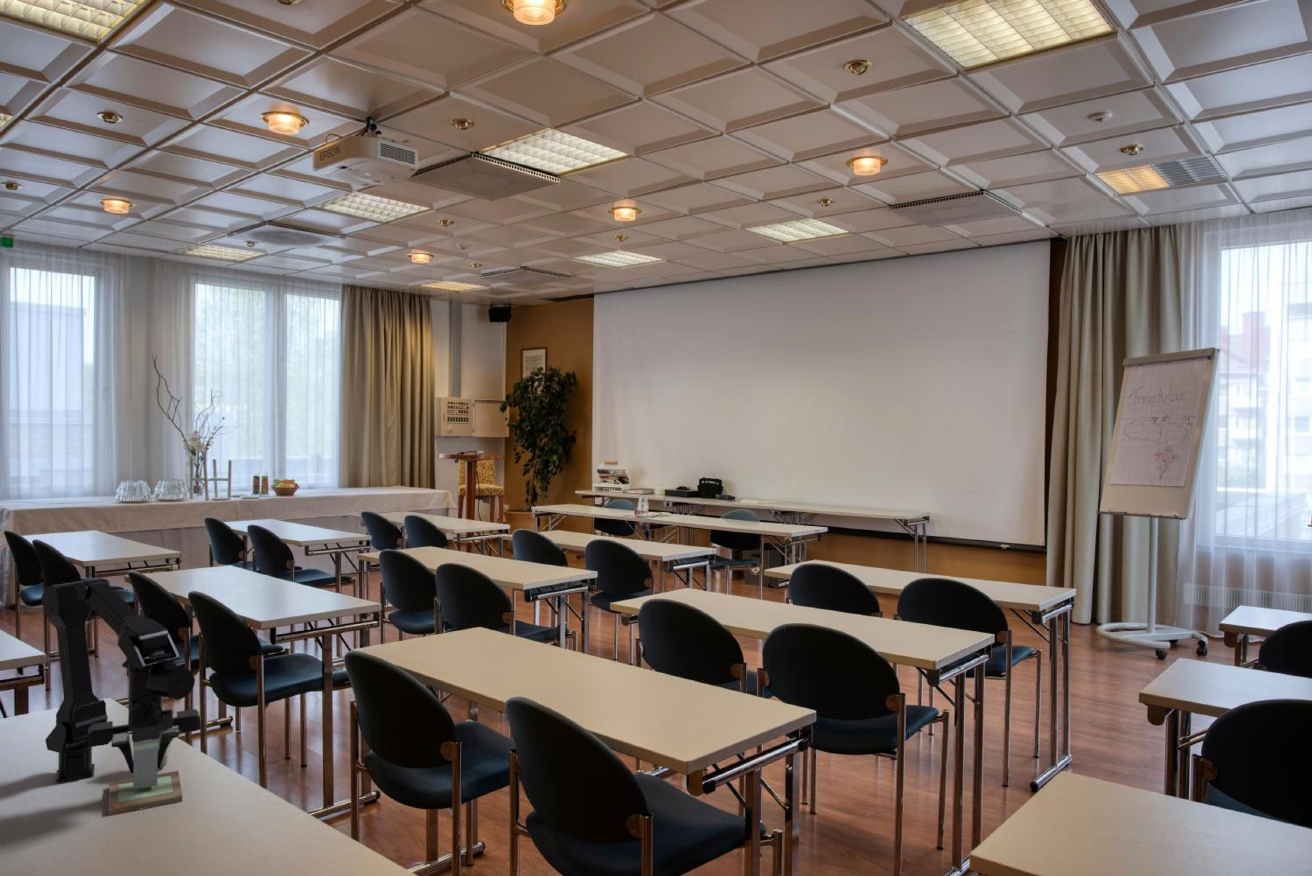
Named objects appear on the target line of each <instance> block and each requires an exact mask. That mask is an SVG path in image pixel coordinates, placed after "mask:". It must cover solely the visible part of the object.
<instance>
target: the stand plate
mask: <svg viewBox="0 0 1312 876" xmlns="http://www.w3.org/2000/svg"><path fill="white" fill-rule="evenodd" d="M108 784H109V785H108V787H109V788H108V816H113V815H118V814H119V815H120V814H124V813H125V814H126V813H128V811H130V812H132V811H131V810H135V811H138V810H137V809H140V808H145V807H146V808H145V809H148V808H147V807H150V808H154V807H153V806H155V807H159V805H161V806H165V804H166V805H169V803H171V804H174V803H175V804H176V803H180V802H183V791H182V786H181V785H182V783H181V778H180V774H179V770H175V771H169V772H163V773H157V785H156V786H150V787H145V788H139V789H134V790H133V778H130V779H123V780H118V781H112V782H109V783H108ZM140 810H141V809H140Z"/></svg>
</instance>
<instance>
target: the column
mask: <svg viewBox="0 0 1312 876" xmlns="http://www.w3.org/2000/svg"><path fill="white" fill-rule="evenodd" d="M132 757H133V774H132V779H133V790H134V789H139V788H145V787H150V786H156V785H157V774H158V769H157V766H158V739H155V740H152V739H150V740H143V741H141V742H133V741H132Z"/></svg>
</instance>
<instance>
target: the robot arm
mask: <svg viewBox="0 0 1312 876" xmlns="http://www.w3.org/2000/svg"><path fill="white" fill-rule="evenodd" d="M40 601H41V605H42V607H43V611H44V615H45V618H46V619H47V621H49V622H50V623H51V625H53V627H54V628H55V629H56V636H57V637H56V639H57V646H58V647H57V648H58V655H59V657H58V658H59V664H60V673H61V682H62V683H61V684H62V693H63V700H62V702H61V704H60V705H59V708H58V710H57V712H56V714H55V726H54V728H53V729H52V730H51V731H50V733H49V734H48V735H47V737H46V738H45V744H46V750H48V751H50V752H54V753H58V767H57V768H58V769H56V773H55V778H54V779H55V780H54V783H61V782H68V781H73V780H79V779H85V778H90V777H93V776H94V775H95V763H93V758H92V757H93V747H99V746H106V745H109V744H110V743H111V744H110V745H111V746H110V747H111V748H118V749H119V750H120V752H121V753H122V755H123V757H124V759H125V762H126V765H127V767H128V769H129V772H130V774H132V775H133V749H132V743H133V742H141V741H143V740H150V739H152V740H155V739H158V738H160V739H159V747H158V766H157V770H160V769H159V768H160V766H161V763H162V760H163V757H164V755H165V752H166V749H167V747H168V745H169V743H170V742H171V740H172V739H173V738H174V739H175V738H178V737H179V736H180V732H181V733H182V734H183V733H189V732H195V731H200V730H201V715H200V711H199V710H197V709H194V708H193V709H185V710H177V711H176V716H175V717H174V715H173V714H174V713H173V709H165V710H163V697H164V698H168V699H173V700H181V699H184V698H186V697H187V696H188V695H189V694H190V693H191V692H192V690H193V689H194V686H195V684H196V683H195V681H196V678H195V676H194V673H193V672H192V671H191V670H190V669H189V668H186V662H184V661H179V660H180V659H181V657H180V654H179V650H178V647H177V646H176V645H175V643H174V641H173V639H172V637H171V634H170V633H169V630H168V629H167V627H165V626H164V625H162V623H159V622H158V621H156V620H155V619H152V618H148V617H144V616H141V615H140V614H139V613H138V612H137V611H136V610H135V609H134V608H133V607H132V606H131V605H130V604H129V603H128V602H127V601H126V600H125V599H124V598H122V597H121V595H120V594H118V593H117V592H116V590H114V589H113V588H112V586H111V584H110V581H109V580H108V579H107V578H103V577H102V578H101V577H100V578H99V577H98V578H93V579H86V580H85V579H84V580H79V581H78V580H77V581H73V582H66V583H60V584H59V583H58V584H52V585H49V586H48V587H47V588H46V590H45V591H44V592H43V593H42V594H41V600H40ZM92 611H94V612H95V613H96V614H97V615H98V616H99V617H100V618H101V619H102V620H103V621H104V623H106V624H107V625H108V627H110V629H111V630H112V631H114V633H116V635H117V646H118V647H119V649H120V651H122V653H123V654H124V656H125V657H126V658H127V659H126V660H125V661H124V662H123V663H122V664H121V666H122V668H125V669H128V718H127V719H128V720H127V721H128V722H127V724H121V725H113V724H114V723H113V720H110V721H109V720H108V719H109V717H108V715H107V708H106V707H107V703H106V701H105V700H104V699H102V700H100V699H99V698H98V697H97V696H96V694H94V692H93V684H92V683H93V682H92V675H91V674H92V673H91V665H90V656H89V649H88V637H87V630H86V629H87V628H86V623H87V621H88V619H89V617H90V615H91V613H92ZM163 653H164V654H163ZM179 731H180V732H179ZM130 735H131V738H130ZM174 739H173V740H174ZM131 741H132V743H131ZM171 743H172V742H171Z"/></svg>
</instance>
